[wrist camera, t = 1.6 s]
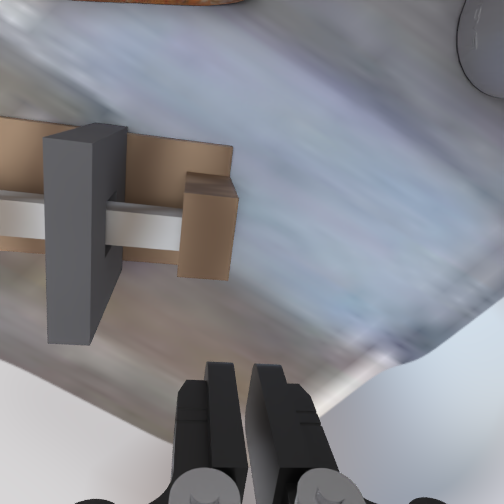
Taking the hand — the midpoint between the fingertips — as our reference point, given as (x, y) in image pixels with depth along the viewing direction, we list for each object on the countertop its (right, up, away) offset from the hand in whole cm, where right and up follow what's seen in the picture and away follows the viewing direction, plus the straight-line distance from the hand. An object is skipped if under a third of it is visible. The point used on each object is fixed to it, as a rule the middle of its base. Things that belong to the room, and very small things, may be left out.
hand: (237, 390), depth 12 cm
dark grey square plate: (-9, +7, +17) cm, 21 cm away
